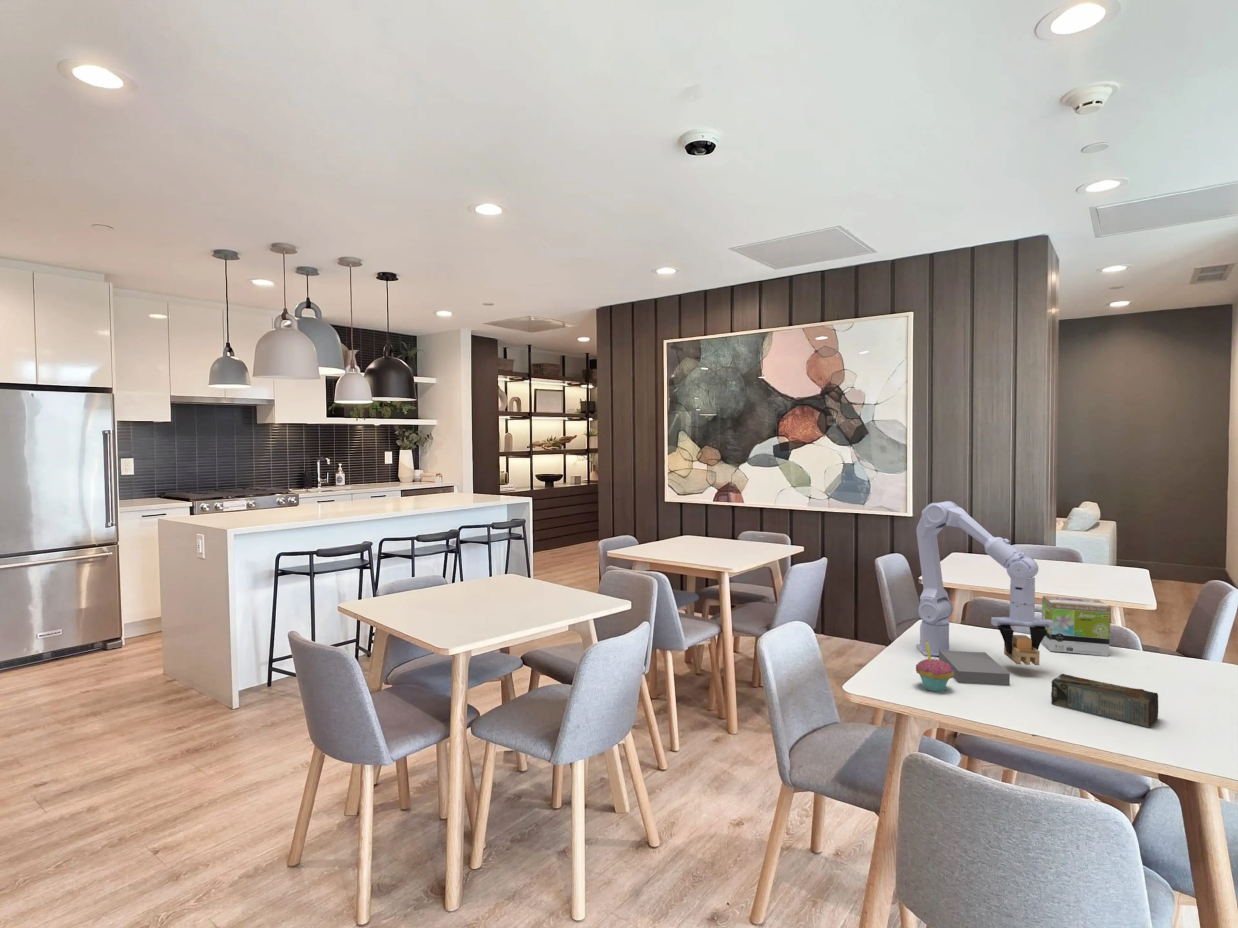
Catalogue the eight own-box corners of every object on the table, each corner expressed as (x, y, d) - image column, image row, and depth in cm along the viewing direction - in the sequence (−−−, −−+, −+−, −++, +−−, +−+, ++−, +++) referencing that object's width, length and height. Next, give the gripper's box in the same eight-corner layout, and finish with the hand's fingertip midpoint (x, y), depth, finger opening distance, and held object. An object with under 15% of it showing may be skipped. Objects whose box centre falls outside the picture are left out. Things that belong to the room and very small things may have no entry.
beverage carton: (1060, 696, 167) (1060, 669, 166) (1159, 720, 152) (1160, 690, 152) (1050, 705, 161) (1050, 677, 161) (1152, 730, 147) (1152, 699, 147)
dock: (939, 660, 193) (939, 650, 193) (985, 663, 191) (985, 652, 191) (958, 682, 176) (958, 671, 175) (1009, 685, 173) (1009, 673, 173)
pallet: (1004, 653, 189) (1004, 640, 189) (1025, 654, 188) (1025, 641, 188) (1016, 664, 180) (1016, 650, 180) (1039, 665, 179) (1039, 651, 179)
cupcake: (914, 690, 170) (914, 642, 170) (917, 680, 178) (917, 633, 177) (952, 696, 166) (953, 647, 166) (954, 685, 174) (954, 638, 173)
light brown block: (1011, 645, 186) (1011, 634, 186) (1025, 646, 185) (1025, 635, 185) (1017, 650, 182) (1017, 638, 182) (1031, 650, 182) (1031, 639, 181)
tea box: (1050, 652, 201) (1051, 602, 200) (1040, 642, 210) (1041, 594, 210) (1110, 657, 196) (1111, 605, 196) (1097, 647, 206) (1098, 598, 205)
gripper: (998, 605, 181) (997, 656, 181) (1058, 607, 178) (1057, 659, 179) (988, 599, 188) (987, 648, 188) (1047, 601, 185) (1046, 651, 185)
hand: (1021, 653), depth 184 cm, fingers closed on pallet, 5 cm apart
